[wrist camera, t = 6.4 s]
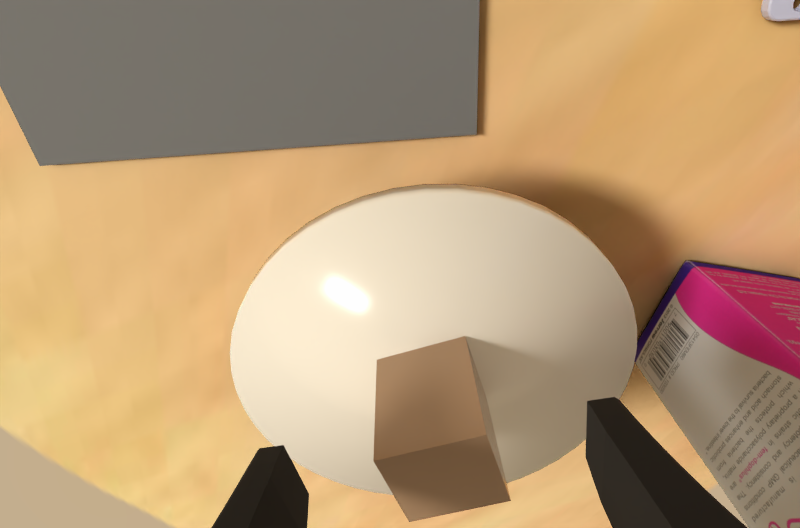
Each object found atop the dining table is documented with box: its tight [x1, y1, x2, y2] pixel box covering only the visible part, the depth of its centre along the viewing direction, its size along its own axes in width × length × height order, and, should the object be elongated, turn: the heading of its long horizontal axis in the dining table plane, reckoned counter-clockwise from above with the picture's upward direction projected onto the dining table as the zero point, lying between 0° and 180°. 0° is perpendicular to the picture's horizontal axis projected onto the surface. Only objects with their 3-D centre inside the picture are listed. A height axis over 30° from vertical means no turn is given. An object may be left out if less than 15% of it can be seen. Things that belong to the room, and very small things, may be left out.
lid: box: [230, 184, 637, 522], centre depth 15 cm, size 14×14×5 cm
